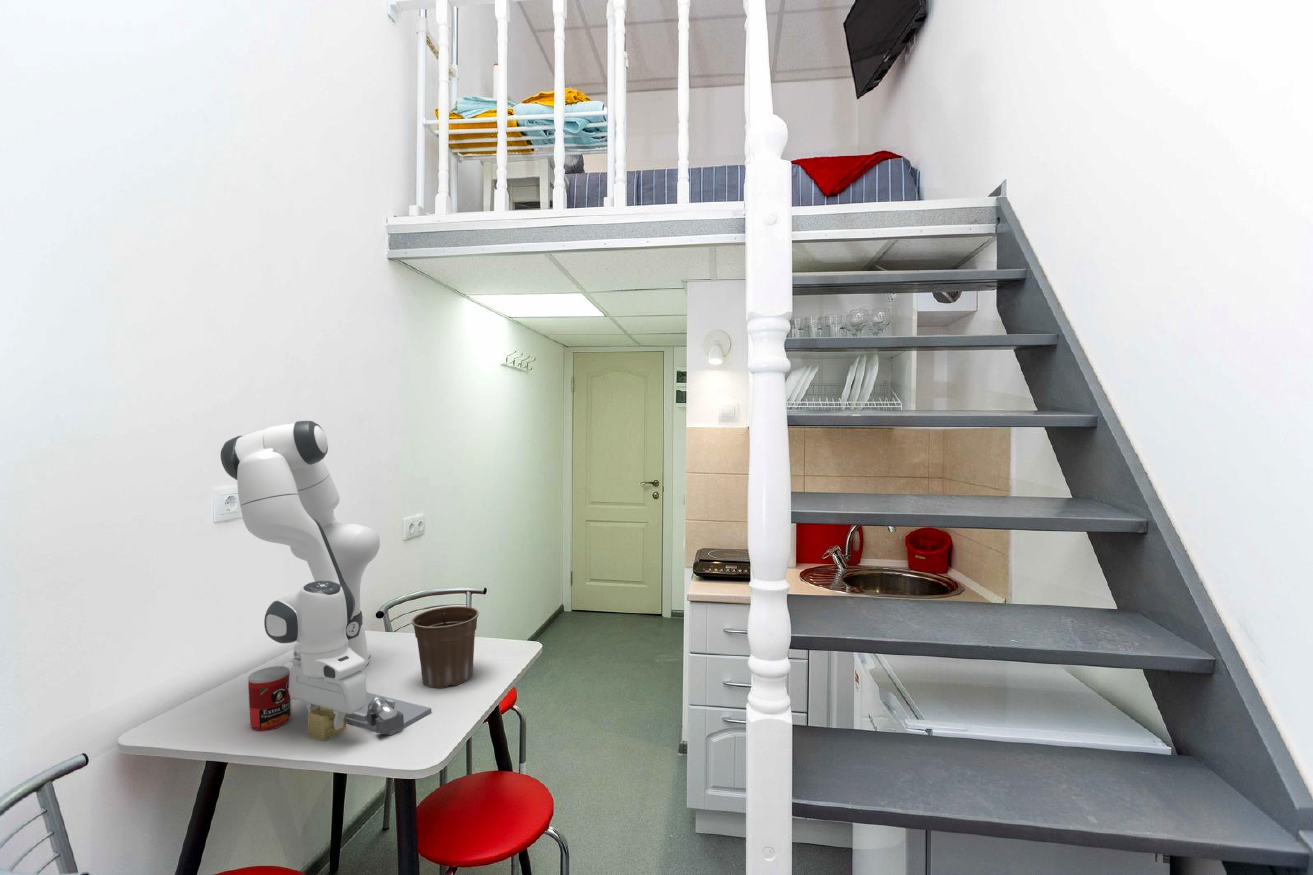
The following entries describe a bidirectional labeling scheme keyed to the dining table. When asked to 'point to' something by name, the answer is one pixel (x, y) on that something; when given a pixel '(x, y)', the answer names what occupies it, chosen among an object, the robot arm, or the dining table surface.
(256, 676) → the canned food
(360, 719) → the grey base plate
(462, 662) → the plant pot
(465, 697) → the dining table surface
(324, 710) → the golden yellow cube
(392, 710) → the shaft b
